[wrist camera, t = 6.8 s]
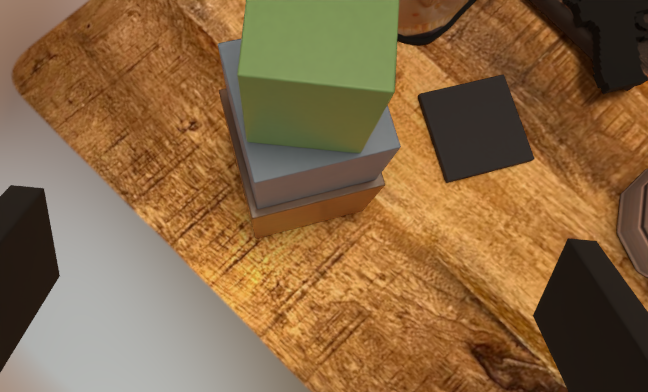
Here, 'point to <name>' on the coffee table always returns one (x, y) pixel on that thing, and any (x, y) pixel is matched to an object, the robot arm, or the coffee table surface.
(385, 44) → the green block
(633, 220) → the can
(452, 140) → the rubber pad
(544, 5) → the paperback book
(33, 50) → the coffee table surface
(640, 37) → the toy gun
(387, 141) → the blue block
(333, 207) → the block
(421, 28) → the figurine
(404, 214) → the coffee table surface
